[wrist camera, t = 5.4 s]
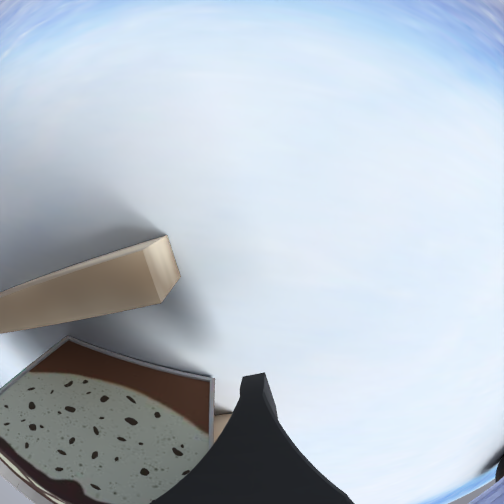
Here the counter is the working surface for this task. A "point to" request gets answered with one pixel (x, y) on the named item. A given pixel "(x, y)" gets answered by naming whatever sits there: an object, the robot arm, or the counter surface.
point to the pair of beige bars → (96, 291)
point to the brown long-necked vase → (500, 470)
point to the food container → (101, 427)
